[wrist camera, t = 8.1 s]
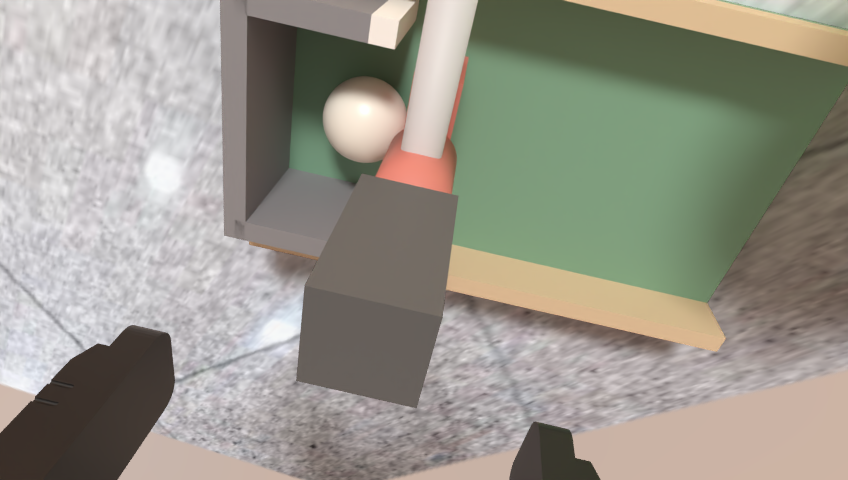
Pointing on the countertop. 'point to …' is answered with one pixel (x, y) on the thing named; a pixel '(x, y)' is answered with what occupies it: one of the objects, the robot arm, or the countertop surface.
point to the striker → (394, 239)
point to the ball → (363, 118)
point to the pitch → (545, 141)
